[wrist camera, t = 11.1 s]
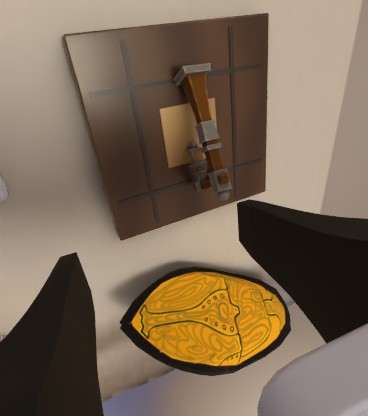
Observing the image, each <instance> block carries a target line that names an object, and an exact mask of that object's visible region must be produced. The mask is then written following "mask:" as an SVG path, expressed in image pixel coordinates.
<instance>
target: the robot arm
mask: <svg viewBox="0 0 368 416" xmlns="http://www.w3.org/2000/svg"><path fill="white" fill-rule="evenodd" d="M8 194H9V192H8V189H7V187H6V184H5V182H4V180H3V178H2V176H1V174H0V202H2V201H5V200H6V199H7V198H8ZM237 210H238V228H239V241H240V242H241V244H242V245H243V246H244V248H245V249H246V251H247V252H248V253H249V254H250V256H251V257H252V258H253V259H254V260H255V261H256V262H257V263H258V264H259V265H260V266H261V267H262V268H263V269H264V270H265V271H266V272H267V273H268V274H269V275H270V276H271V277H272V278H273V279H274V280H275V281H276V282H277V283H278V284H279V285H280V286H281V287H282V288H283V289H284V290H285V291H286V292H287V293H288V294H289V295H290V296H291V298H292V299H293V300H294V301H295V303H296V304H297V305H298V306H299V308H300V309H301V310H302V311H303V312H304V314H305V315H306V316H307V318H308V319H309V320H310V322H311V323H312V324H313V326H314V327H315V328H316V329H317V331H318V332H319V333H320V335H321V336H322V338H323V339H324V340H325V342H326V343H327V344H325V345H323V346H321V347H319V348H317V349H315V350H313V351H310V352H308V353H306V354H304V355H302V356H300V357H298V358H296V359H294V360H293V361H291V362H290V363H289V364H287V365H286V366H284V367H283V368H281V369H280V370H278V371H277V372H276V373H275V374H274V375H273V377H272V378H271V379H270V380H269V382H268V383H267V384H266V385H265V386H264V388H263V391H262V394H261V397H260V400H259V404H258V416H368V219H359V218H345V217H336V216H327V215H320V214H314V213H309V212H304V211H299V210H294V209H290V208H286V207H282V206H277V205H273V204H269V203H265V202H260V201H255V200H246V201H243V202H239V203H237ZM0 416H104V415H103V409H102V402H101V395H100V388H99V381H98V372H97V356H96V329H95V311H94V305H93V300H92V294H91V290H90V287H89V285H88V282H87V279H86V277H85V274H84V271H83V269H82V266H81V263H80V261H79V258H78V256H77V253H76V252H75V253H72V254H69V255H65V256H62V257H60V258H59V260H58V262H57V263H56V265H55V267H54V269H53V270H52V272H51V274H50V276H49V278H48V279H47V281H46V283H45V284H44V286H43V288H42V289H41V291H40V293H39V294H38V296H37V297H36V299H35V300H34V301H33V303H32V304H31V306H30V307H29V309H28V310H27V312H26V313H25V314H24V316H23V317H22V318H21V319H20V321H19V322H18V323H17V324H16V325H15V327H14V328H13V329H12V330H11V331H10V333H9V334H8V335H7V336H6V337H5V338H4V339H3V340H2V341H1V342H0Z"/></svg>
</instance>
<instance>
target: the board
mask: <svg viewBox="0 0 368 416" xmlns="http://www.w3.org/2000/svg"><path fill="white" fill-rule="evenodd" d="M62 40H63V43H64V47H65V50H66V54H67V57H68V61H69V65H70V68H71V72H72V75H73V79H74V82H75V86H76V89H77V93H78V96H79V100H80V103H81V107H82V110H83V114H84V118H85V121H86V125H87V128H88V132H89V135H90V139H91V142H92V146H93V149H94V153H95V156H96V160H97V163H98V167H99V170H100V174H101V178H102V181H103V185H104V188H105V192H106V195H107V199H108V202H109V206H110V209H111V213H112V216H113V220H114V223H115V227H116V231H117V234H118V236H119V238H120V240H124V239H127V238H130V237H133V236H136V235H139V234H142V233H145V232H148V231H151V230H154V229H156V228H159V227H162V226H165V225H168V224H171V223H174V222H177V221H180V220H183V219H186V218H188V217H191V216H194V215H197V214H200V213H203V212H206V211H209V210H212V209H215V208H218V207H220V206H223V205H226V204H229V203H232V202H235V201H238V200H241V199H244V198H247V197H250V196H253V195H255V194H258V193H261V192H264V191H265V180H266V125H267V69H268V13H263V14H254V15H244V16H235V17H226V18H216V19H207V20H197V21H188V22H178V23H169V24H159V25H150V26H140V27H131V28H121V29H112V30H103V31H93V32H84V33H74V34H65V35H63V37H62ZM207 63H211V64H210V69H211V71H210V72H209V73H208V74H207V75H206V87H207V95H208V102H209V109H210V113H211V117H212V120H215V125H216V129H217V133H218V135H219V137H220V138H219V139H217V140H218V143H221V146H222V147H221V148H219V149H220V153H221V157H222V161H223V165H224V169H225V168H227V172H228V174H229V178H230V184H231V186H232V189H229V190H227V191H228V192H229V198H228V199H227V200H225V201H222V200H220V199H219V198H218V192H217V193H213V194H212V187H211V188H208V189H204V190H201V191H195V189H194V185H193V184H195V183H196V182H199V174H196V173H195V172H196V171H198V170H195V169H196V168H192V167H189V165H191V162H190V159H189V156H188V154H187V153H186V151H188V150H190V148H189V143H190V142H191V141H196V142H197V143H198V147H202V144H199V138H198V134H197V130H196V128H195V126H196V125H197V123H196V119H195V116H194V113H193V110H192V108H191V105H190V102H189V100H188V97H187V95H186V92H185V91H184V89H183V87H182V85H175V81H174V80H173V79H174V78H175V76H176V75H177V73H178V72H179V71H180V69H181V68H182V67H183V66H190V65H198V64H207ZM198 147H197V148H198ZM203 157H204V160H205V161H207V160H206V157H205V153H203ZM207 166H208V164H207V163H205V164H204V165H203V166H202V167H203V169H202V170H205V171H204V172H203V173H202V175H203V176H204V177H205V175H206V171H207ZM200 175H201V174H200ZM203 176H202V177H200V181H202V180H203V179H204V178H203Z"/></svg>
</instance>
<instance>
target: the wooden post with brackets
mask: <svg viewBox="0 0 368 416" xmlns="http://www.w3.org/2000/svg"><path fill="white" fill-rule="evenodd" d="M210 64H211V63H207V64H198V65H190V66H183V67H182V68H181V69H180V71H179V72H178V73H177V75H176V76H175V78H174V79H173V80H174V81H175V85H182V87H183V89H184V91H185V92H186V95H187V97H188V100H189V102H190V105H191V108H192V110H193V113H194V116H195V119H196V123H197V125H196V126H195V128H196V130H197V134H198V138H199V144H202V147H198V143H197V142H196V141H191V142H190V143H189V148H190V150H188V151H186V153H187V154H188V156H189V159H190V162H191V165H189V167H192V168H196V169H195V170H198V171H196V172H195V173H196V174H199V182H196V183H195V184H193V185H194V189H195V191H201V190H204V189H208V188H211V187H212V194H213V193H217V192H218V198H219V199H220V200H222V201H225V200H227V199H228V198H229V192H228V191H227V190H229V189H232V186H231V184H230V178H229V174H228V172H227V168H225V169H224V165H223V161H222V157H221V153H220V149H219V148H221V147H222V146H221V143H218V140H217V139H219V138H220V137H219V135H218V133H217V129H216V125H215V120H212V117H211V113H210V109H209V102H208V95H207V87H206V75H207V74H208V73H209V72H210V71H211V69H210ZM197 147H198V148H197ZM203 153H205V157H206V160H207V161H205V160H204V157H203ZM205 163H207V164H208V166H207V171H206V175H205V177H204V176H203V175H202V173H203V172H204V171H205V170H202V169H203V167H202V166H203V165H204V164H205ZM200 174H201V175H200ZM202 176H203V178H204V179H203V180H202V181H200V177H202Z"/></svg>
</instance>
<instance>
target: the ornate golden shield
mask: <svg viewBox="0 0 368 416" xmlns="http://www.w3.org/2000/svg"><path fill="white" fill-rule="evenodd" d="M120 323H121V324H122V326H121V327H120V329H121V330H122V331H123V332H124V333H125V334H126V335H127V336H128V337H129V338H130V339H131V341H132V342H133V343H134V344H135V345H136V346H137V347H138V348H140V349H141V350H143V351H144V352H146V353H147V354H149V355H150V356H152V357H153V358H155V359H156V360H158V361H160V362H162V363H164V364H166V365H168V366H171V367H174V368H176V369H179V370H182V371H185V372H190V373H195V374H199V375H208V376H215V375H222V374H229V373H234V372H236V371H238V370H240V369H242V368H244V367H246V366H248V365H250V364H252V363H254V362H256V361H257V360H260V359H262V358H263V357H265V356H267V355H268V354H269V353H271V352H272V351H273V350H275V349H276V348H277V347H279V346H280V345H281V344H282V342H283V341H284V339H285V338H286V336H287V335H288V334H289V332H290V331H291V327H290V314H289V311H288V308H287V306H286V304H285V302H284V300H283V299H282V297H281V296H280V294H279V293H278V291H277V290H276V289H275V288H273V287H271V286H270V285H268V284H266V283H265V282H263V281H261V280H259V279H255V278H251V277H247V276H244V275H239V274H234V273H229V272H224V271H219V270H214V269H206V268H198V267H190V268H182V269H178V270H176V271H173V272H171V273H168V274H167V275H165V276H163V277H162V278H160V279H158V280H157V281H156V282H154V283H153V284H152V285H150V286H149V287H148V288H147V289H145V290H144V291H143V292H142V293H141V294H140V295H139V296H138V297H137V298H136V299H135V300H134V301H133V303H132V304H131V306H130V307H129V309H128V310H127V312H126V313H125V315H124V316H123V318H122V320H121V321H120Z"/></svg>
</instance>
